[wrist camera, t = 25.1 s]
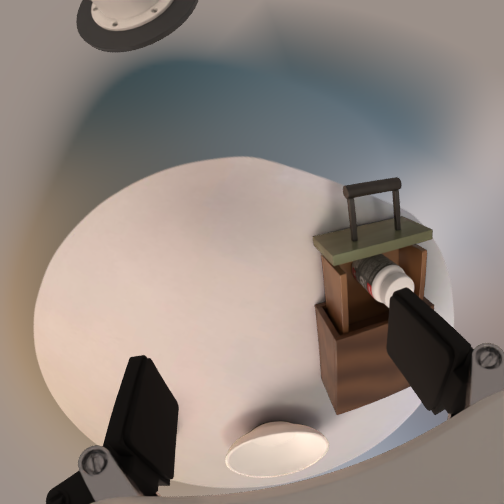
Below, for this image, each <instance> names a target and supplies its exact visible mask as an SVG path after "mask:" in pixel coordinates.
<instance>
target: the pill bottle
mask: <svg viewBox="0 0 504 504" xmlns="http://www.w3.org/2000/svg"><path fill="white" fill-rule="evenodd" d="M352 274H353V276H354V278H355V279H356V280H357V281H358V282H359V283H360V284H361V285H362V286H363V287H364V288H365V289H366V290H367V291H368V292H369V293H370V294H371V296H372V297H373V298H374V299H376V300H377V301H378V302H381V303H384V304H385V305H386V306H387V307H388V308H389V301H390V297H391V296H392V295H393V292H395V291H397V290H400V289H402V288H405V287H407V288H409V289H410V290H411V291H413V292H414V282H413V281H412V279H411V278H410V277H408V276H407V275H406V274H405V272H404V270H403V269H402V268H401V267H400V266H398V265H397V264H396V263H394V262H393V261H391V260H390V259H388V258H387V257H386V256H384V255H383V254H378V255H374V256H370V257H367V258H363V259H359V260H355V261H353V263H352Z"/></svg>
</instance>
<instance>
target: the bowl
mask: <svg viewBox="0 0 504 504" xmlns="http://www.w3.org/2000/svg"><path fill="white" fill-rule="evenodd" d="M328 448H329V442H328V441H327V439H326V438H325V436H324V435H323V434H322V433H320V432H319V431H317V430H316V429H313V428H311V427H308V426H305V425H300V424H292V423H289V422H283V421H276V422H270V423H266V424H263V425H260V426H258V427H256V428H255V429H253V430H252V431H251V432H249V433H247V434H245V435H243V436H242V437H240V438H239V439H238V440H237V441H236V442H235V443H234V444H233V445H232V446H231V447H230V449H229V450H228V452H227V455H226V460H225V462H226V465H227V466H228V467H229V469H231V470H232V471H234V472H236V473H238V474H241V475H245V476H250V477H276V476H283V475H287V474H291V473H294V472H297V471H300V470H302V469H305V468H307V467H309V466H311V465H313V464H314V463H316V462H317V461H319V460H320V459H321V458H322V457H323V456H324V455H325V454H326V452H327V451H328Z"/></svg>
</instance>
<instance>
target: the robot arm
mask: <svg viewBox="0 0 504 504" xmlns="http://www.w3.org/2000/svg"><path fill="white" fill-rule="evenodd" d="M91 1H92V2H93V3H92V7H91V13H92V17H93V19H94V21H95V22H96V23H97V24H98V25H99V26H101V27H102V28H104V29H107V30H111V31H125V30H129V29H134V28H137V27H139V26H142V25H144V24H146V23H148V22H150V21H152V20H154V19H155V18H157V17H158V16H159V15H161V14H162V13H163V12H164V11H165V10H166V9H167V8H168V7H169V6H170V5H171V4H172V2H173V1H174V0H91ZM386 349H387V353H388V355H389V356H390V358H391V359H392V361H393V362H394V363H395V365H396V366H397V367H398V369H399V370H400V372H401V373H402V374H403V376H404V377H405V379H406V380H407V382H408V383H409V384H410V386H411V387H412V389H413V390H414V391H415V393H416V394H417V396H418V397H419V399H420V400H421V402H422V403H423V405H424V406H425V407H426V409H427V410H429V411H430V410H432V412H433V413H434V415H436V414H438V413H439V412H441V411H443V410H444V409H445V410H446V411H447V412H448V419H447V421H445V422H443V423H442V424H440V425H438V426H436V427H435V428H433V429H431V430H429V431H427V432H426V433H424V434H422V435H420V436H418V437H416V438H414V439H413V440H410V441H408V442H406V443H404V444H402V445H401V446H398V447H396V448H394V449H392V450H389V451H387V452H385V453H382V454H380V455H378V456H376V457H373V458H370V459H368V460H366V461H363V462H360V463H358V464H355V465H352V466H349V467H347V468H344V469H341V470H338V471H334V472H331V473H328V474H325V475H321V476H318V477H314V478H311V479H307V480H303V481H299V482H295V483H290V484H287V485H281V486H277V487H271V488H266V489H260V490H254V491H247V492H239V493H231V494H221V495H209V496H208V495H207V496H187V497H162V496H161V495H160V494H159V493H158V492H157V491H158V486H169V485H170V479H173V477H174V463H175V448H176V434H177V422H178V411H179V407H178V403H177V401H176V399H175V398H174V396H173V395H172V393H171V391H170V390H169V388H168V387H167V385H166V383H165V382H164V380H163V378H162V377H161V375H160V373H159V372H158V370H157V368H156V367H155V365H154V363H153V361H152V360H151V359H150V358H147V357H146V356H145V355H142V356H135V357H131V358H130V359H129V362H128V365H127V368H126V370H125V374H124V377H123V380H122V383H121V386H120V389H119V392H118V395H117V398H116V401H115V405H114V408H113V411H112V415H111V418H110V422H109V425H108V429H107V433H106V436H105V440H104V444H103V446H98V445H96V446H91V447H89V448H87V449H86V450H84V451H83V453H82V454H81V455H80V457H79V460H78V467H79V471H78V472H76V473H75V474H74V475H72V476H71V477H69V478H68V479H66V480H65V481H63V482H62V483H60V484H59V485H57V486H56V487H54V488H53V489H51V490H50V491H49V493H48V495H47V498H46V504H504V352H503V350H502V349H501V348H499V347H498V346H497V345H494V344H491V343H483V344H480V345H478V346H477V347H476V348H475V349H473V348H472V347H471V345H470V343H468V342H467V341H466V340H465V339H464V338H463V337H462V336H461V335H460V334H459V333H458V332H457V331H456V330H455V329H454V328H453V327H452V326H451V325H450V324H448V323H447V322H446V321H445V320H444V319H443V318H442V317H441V316H440V315H439V314H438V313H436V312H435V311H434V310H433V309H432V308H431V307H430V306H429V305H427V304H426V303H425V302H424V301H423V300H422V299H421V298H419V297H418V296H417V295H416V294H415V293H414V292H413V291H411V290H410V289H409V288H407V287H405V288H402V289H400V290H397V291H395V292H393V295H392V296H391V297H390V301H389V320H388V333H387V344H386Z"/></svg>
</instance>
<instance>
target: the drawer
mask: <svg viewBox="0 0 504 504" xmlns="http://www.w3.org/2000/svg"><path fill="white" fill-rule="evenodd" d="M400 188H401V181H400V179H399V178H397V177H396V178H390V179H384V180H377V181H371V182H364V183H358V184H353V185H347V186H344V187H343V194H344V196H345V198H346V199H347V202H348V211H349V221H350V228H348V229H344V230H339V231H335V232H331V233H326V234H322V235H317V236H313V243H314V246H315V247H316V248H317V249H318V250H319V251H320V252H321V253H322V254H323V255H321V258H322V267H323V276H324V286H325V297H326V308H327V316H328V317H329V319H330V320H331V322H332V324H333V325H334V327H335V329H336V330H337V332H338V333H339V335H343V334H346V333H350V332H353V331H356V330H359V329H362V328H365V327H368V326H371V325H374V324H377V323H379V322H382V321H385V320H388V319H389V308H388V307H387V306H386V305H385V304H384V303H381V302H378V301H377V300H376V299H374V298H373V297H372V296H371V294H370V293H369V292H368V291H367V290H366V289H365V288H364V287H363V286H362V285H361V284H360V283H359V282H358V281H357V280H356V279H355V278H354V276H353V274H352V263H353V261H355V260H359V259H363V258H367V257H370V256H374V255H378V254H383V255H384V256H386V257H387V258H388V259H390V260H391V261H393V262H394V263H396V264H397V265H398V266H400V267H401V268H402V269H403V270H404V272H405V274H406V275H407V276H408V277H410V278H411V279H412V281H413V282H414V293H415V294H416V295H417V296H418V297H419V298H421V299H422V300H423V297H424V287H425V276H426V260H427V250H426V249H424V248H422V247H420V246H419V245H417V243H420V242H424V241H427V240H431V239H432V232H433V231H432V229H430V228H427V227H425V226H423V225H421V224H419V223H416V222H414V221H412V220H410V219H407V218H405V217H403V216H401V217H400V202H399V189H400ZM387 191H392V193H393V207H394V218H393V219H388V220H384V221H379V222H375V223H370V224H366V225H362V226H357V224H356V213H355V204H354V198H355V197H360V196H365V195H371V194H376V193H382V192H387Z"/></svg>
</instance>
